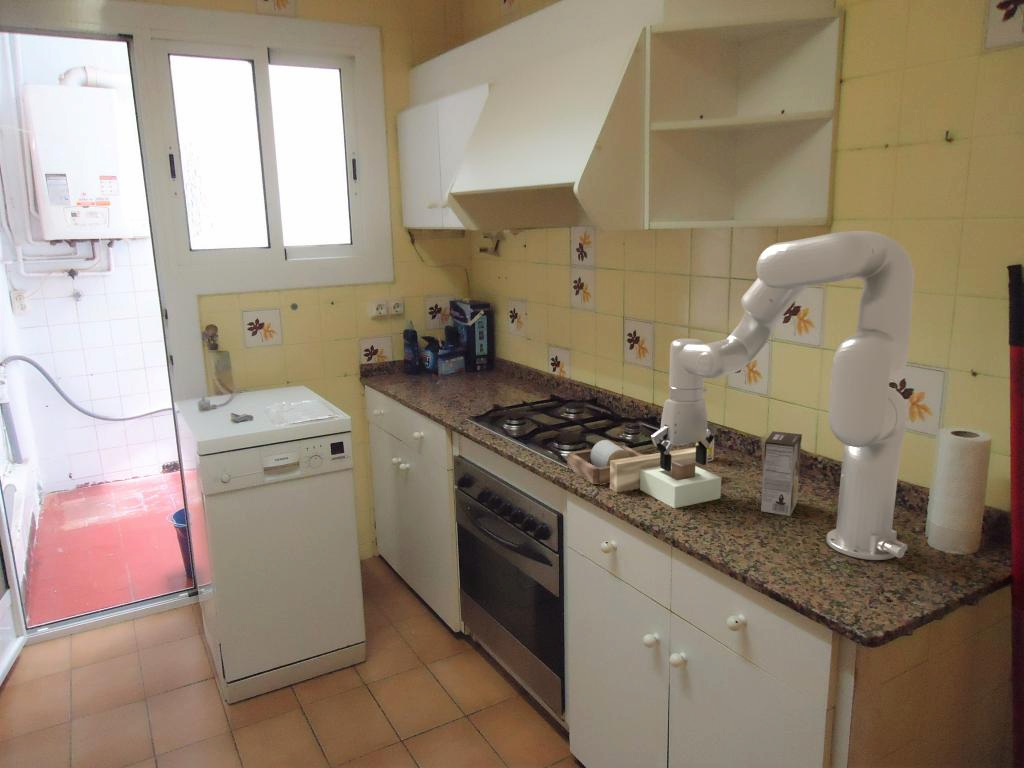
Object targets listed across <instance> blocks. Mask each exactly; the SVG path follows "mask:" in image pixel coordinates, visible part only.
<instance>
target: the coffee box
mask: <svg viewBox="0 0 1024 768" xmlns="http://www.w3.org/2000/svg"><path fill="white" fill-rule="evenodd" d="M802 437H803V434H802V433H793V432H792V433H791V432H783V431H774V430H773V431H771V433H770V434H769V436H768V437H767V438H766V440H765V442H764V455H763V470H762V472H763V473H762V486H761V490H762V491H761V504H760V506H761V507H760V511H761V512H764V513H771V514H776V515H781V516H789V517H791V516H792V513H793V511H794V510H795V508H796V505H797V502H798V495H799V494H798V493H799V480H800V466H801V465H800V464H801V451H802V440H803V439H802Z"/></svg>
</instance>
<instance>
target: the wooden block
mask: <svg viewBox="0 0 1024 768" xmlns="http://www.w3.org/2000/svg"><path fill="white" fill-rule="evenodd" d="M695 466H696V465H695V463H693V462H690V461H688V460H685V459H683V460H678V461H673V462H672V470H671V478H673V479H675V480H677V481H678V480H683V479H688V478H693V477H695Z"/></svg>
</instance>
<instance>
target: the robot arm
mask: <svg viewBox="0 0 1024 768" xmlns="http://www.w3.org/2000/svg"><path fill="white" fill-rule="evenodd" d="M755 267H756V270H755V271H756V274H757V279H755V281H754V282H753V283H752V284H751V285H750V287H749V288H748V289H747V291H746V292H745V293H744V294H743V295H742V297H741V301H740V303H741V304H740V305H741V306H742V309H743V311H744V314H743V315H742V318H741V320H740V321H739V323H738V325H737V326H736V327H735V328H734V329H733V331H732V332H731V333H730V334H729V336H727V338H726V339H721V340H717V341H714V342H709V343H708V342H707V343H704V342H703V341H702V340H700V339H697V338H688V337H687V338H676V339H674V340H673V341H671V343H670V348H669V371H668V372H669V375H668V377H669V378H668V399H665V401H664V404H663V409H662V412H661V421H660V429H658V430H656V431H655V432H654V433H653V434H651V436H650V439H651V441H652V444H653V446H654V448H656V449H657V451H658V453H660V465H661V468H662V469H664V470H666V471H670V470H671V454H669V453H670V451H673V450H672V449H673V448H674V447H675V446H682V445H688V444H695V447H696V458H695V461H696V462H697V463H699V464H702V465H706V459H707V448H709V447H710V443H711V442H712V440H713V439H714V440H715V435H716V433H717V430H718V428H717V426H715V425H712V424H710V423H708V412H707V411H708V410H707V405H706V399H704V393H707V387H706V386H704V385H705V384H704V383H705V379H704V378H707V379H717V378H721V377H724V376H728V375H731V374H733V373H737V372H740V371H741V370H743V369H744V368H746V367H747V366H748V365H749V364H750V363H751V362H752V361H753V360H754V359H755V357H756V356H757V355H759V353H760V352H761V351H762V349H763V348H764V347H765V346H766V344H767V343H768V341H769V340H770V338H771V337H772V333H774V330H775V329H776V325H777V322H779V320H780V319H781V318H782V317H783V316H784V314H785V313H786V312H787V311H788V309H789V308H790V307H791V306H792V305H793V304H794V303H795V302H796V300H797V299H798V298H799V297H800V296H801V294H802V293H803V292H804V291H805V290H806V289H808V288H807V287H808V286H814V285H821V284H829V283H838V282H844V281H845V282H846V281H851V280H858V279H860V280H861V281H862V285H863V287H862V292H861V295H860V298H859V302H858V303H859V304H858V316H857V317H858V318H857V323H856V324H857V326H856V331H855V334H852V335H850V336H848V337H847V338H846V339H845V338H844V340H843V341H842V342H841V343H840V344H839V346H838V347H837V349H836V351H835V353H834V356H833V359H832V364H831V365H832V366H831V376H830V385H829V386H830V389H829V400H828V411H827V412H828V417H827V418H828V424H829V427H830V430H831V432H832V434H833V436H834V437H835V438H836V439H837V440H838V441H839V442H840V443H842V444H843V445H844V447H843V453H842V460H841V462H842V463H841V471H840V480H839V481H840V482H839V494H838V505H837V516H836V527H835V528H834V529H831V530H830V531H829V532H827V534H826V543H827V545H829V547H830V548H831V549H832V550H835V551H836V552H838V553H840V554H843V555H846V556H849V557H851V558H856V559H861V560H869V561H886V560H889V559H894V558H895V557H896V558H898V559H901V558H903V557H904V555H905V552H906V551H907V550H908V544H906V543H904V542H901V541H899V540H898V539H897V536H898V531H897V530H894V529H893V523H894V514H895V513H894V512H895V505H896V504H895V503H896V495H897V488H898V487H897V485H898V477H899V469H900V468H899V467H900V462H901V454H902V453H901V452H902V447H903V442H904V439H905V433H906V429H907V424H908V420H909V419H908V416H909V413H908V412H909V411H908V405H907V403H906V401H905V398H904V397H903V396H902V394H901V393H900V392H899V391H898V390H897V389H895V388H893V387H891V386H890V379H892V378H894V377H895V376H897V375H898V374H900V373H902V371H903V370H904V369H905V367H906V365H907V363H908V358H909V348H910V347H909V346H910V335H911V323H912V312H913V311H912V310H913V298H914V297H913V296H914V289H915V288H914V287H915V272H914V271H915V270H914V266H913V262H912V259H911V258H910V256H909V254H908V252H907V250H906V249H905V248H904V247H903V246H902V245H901V244H900V243H899V242H897V241H896V240H894V239H893V238H891V237H889V236H888V235H885V234H883V233H880V232H877V231H871V230H855V231H854V230H853V231H839V232H833V233H827V234H822V235H817V236H812V237H807V238H801V239H795V240H790V241H782V242H776V243H773V244H771V245H769V246H768V247H766V248H765V249H764V250H763V251H762V252H761V254H760V255H759V257H758V259H757V262H756V266H755ZM707 429H708V432H707ZM661 441H662V442H661ZM696 442H697V443H698V444H699V445H696Z"/></svg>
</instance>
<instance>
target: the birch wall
mask: <svg viewBox="0 0 1024 768" xmlns="http://www.w3.org/2000/svg"><path fill="white" fill-rule="evenodd" d="M669 454H671V464H672V462H673V461H678V460H683V459H685V460H688V461H690V462H693V463H695V465H696V467H699V468H701V469H703V470H705V471H708V465H709V463H708V449H707V459H706V465H702V464H699V463H697V462H696V461H695V458H696V446H695V447H688V448H683V449H676V450H671V451H670V453H669ZM642 455H643V456H637V457H630V458H624V459H618V460H611V461H610V484H609V489H610V490H611V489H612V490H611V491H613V492H614V491H615V493H616V494H617V492H618V493H622V492H623V491H624V492H629V491H634V489H635V490H640V489H639V488H640V470H641V469H646V468H652V467H657V466H661V465H660V452H657V453H651V454H642ZM628 490H629V491H628Z"/></svg>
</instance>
